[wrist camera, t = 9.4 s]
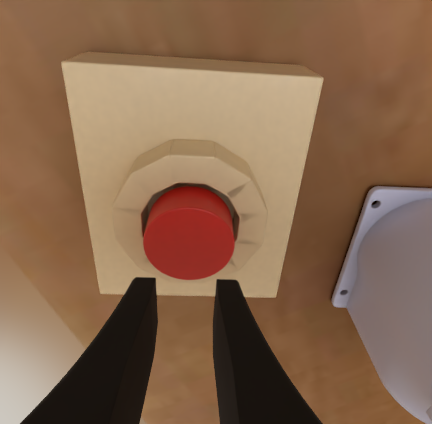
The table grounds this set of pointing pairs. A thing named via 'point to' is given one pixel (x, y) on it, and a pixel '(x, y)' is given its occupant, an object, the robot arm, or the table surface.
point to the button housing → (190, 156)
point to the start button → (189, 233)
